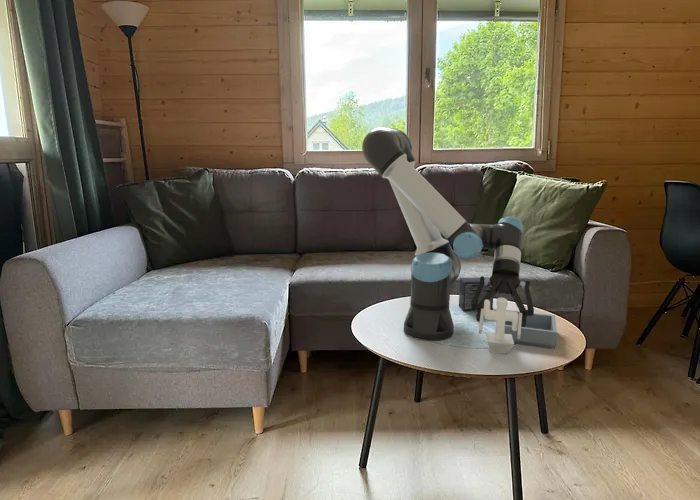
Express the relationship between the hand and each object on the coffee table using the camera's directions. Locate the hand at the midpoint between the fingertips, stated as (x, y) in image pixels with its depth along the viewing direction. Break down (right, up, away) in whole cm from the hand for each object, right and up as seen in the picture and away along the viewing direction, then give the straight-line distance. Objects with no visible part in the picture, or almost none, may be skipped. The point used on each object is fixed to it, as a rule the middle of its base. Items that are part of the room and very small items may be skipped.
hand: (499, 334), depth 136 cm
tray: (+12, -3, +15) cm, 19 cm away
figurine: (+1, -5, +4) cm, 7 cm away
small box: (+3, +2, +40) cm, 40 cm away
